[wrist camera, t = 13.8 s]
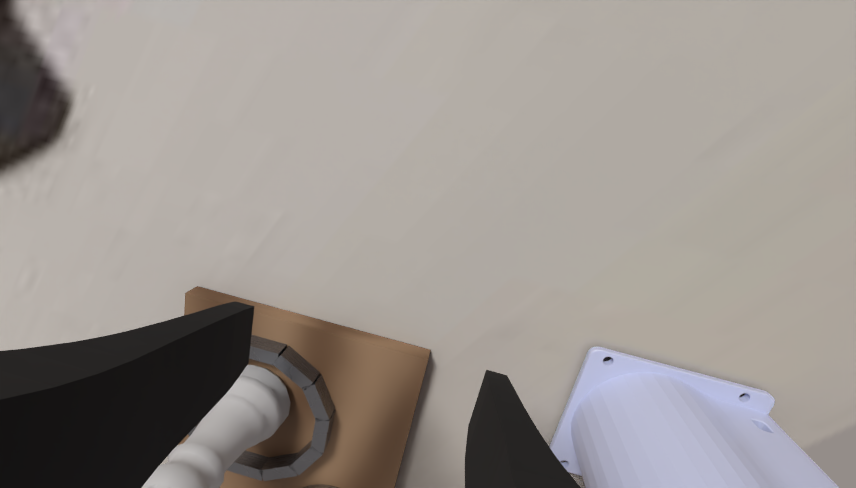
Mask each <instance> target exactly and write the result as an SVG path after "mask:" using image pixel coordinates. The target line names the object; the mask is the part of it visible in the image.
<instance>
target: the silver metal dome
mask: <svg viewBox="0 0 856 488" xmlns="http://www.w3.org/2000/svg"><path fill="white" fill-rule="evenodd" d="M302 488H339V487H336V486H331V485H325V484H315V485H309V486H305V487H302Z"/></svg>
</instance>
